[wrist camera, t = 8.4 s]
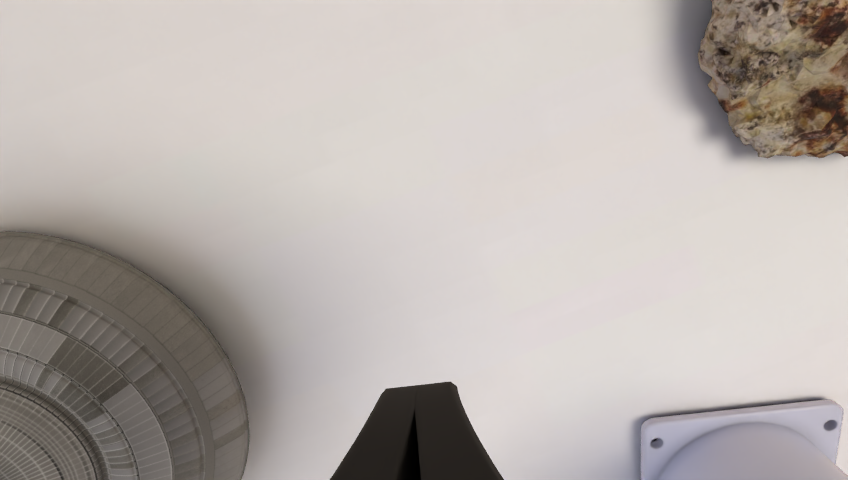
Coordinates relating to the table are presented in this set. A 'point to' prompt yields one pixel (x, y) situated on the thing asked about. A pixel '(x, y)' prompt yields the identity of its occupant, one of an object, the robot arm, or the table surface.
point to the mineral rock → (781, 73)
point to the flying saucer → (108, 373)
